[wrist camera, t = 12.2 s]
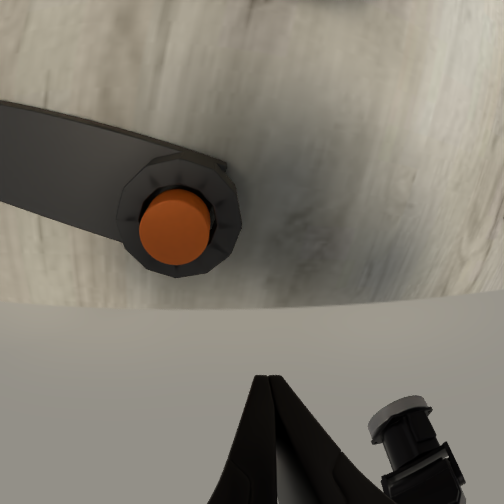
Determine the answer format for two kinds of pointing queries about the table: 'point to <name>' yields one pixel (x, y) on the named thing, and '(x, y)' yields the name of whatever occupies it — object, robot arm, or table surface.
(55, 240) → the table surface
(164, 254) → the button
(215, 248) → the block
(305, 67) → the table surface
